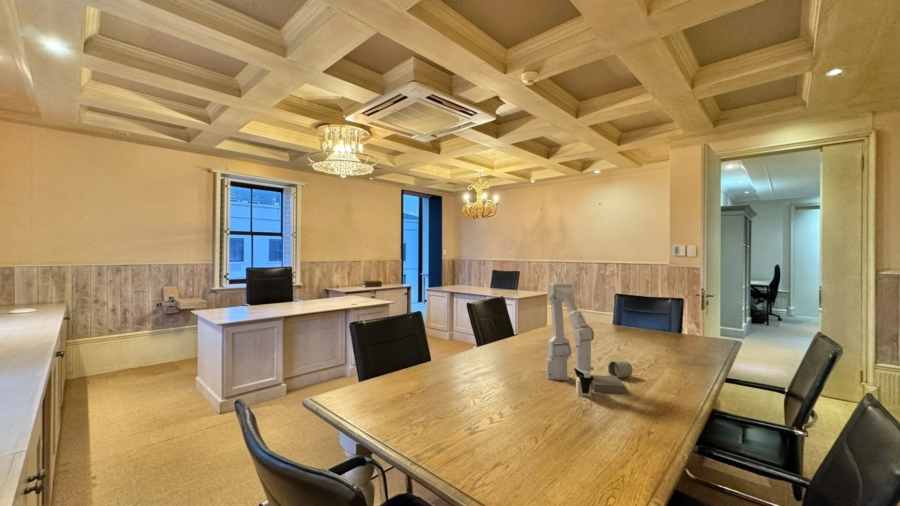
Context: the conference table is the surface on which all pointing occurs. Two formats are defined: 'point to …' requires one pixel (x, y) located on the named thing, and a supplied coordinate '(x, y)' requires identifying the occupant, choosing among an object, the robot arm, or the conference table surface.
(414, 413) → the conference table surface
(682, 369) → the conference table surface
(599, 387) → the gray plinth
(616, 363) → the ceramic mug
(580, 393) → the cream block
